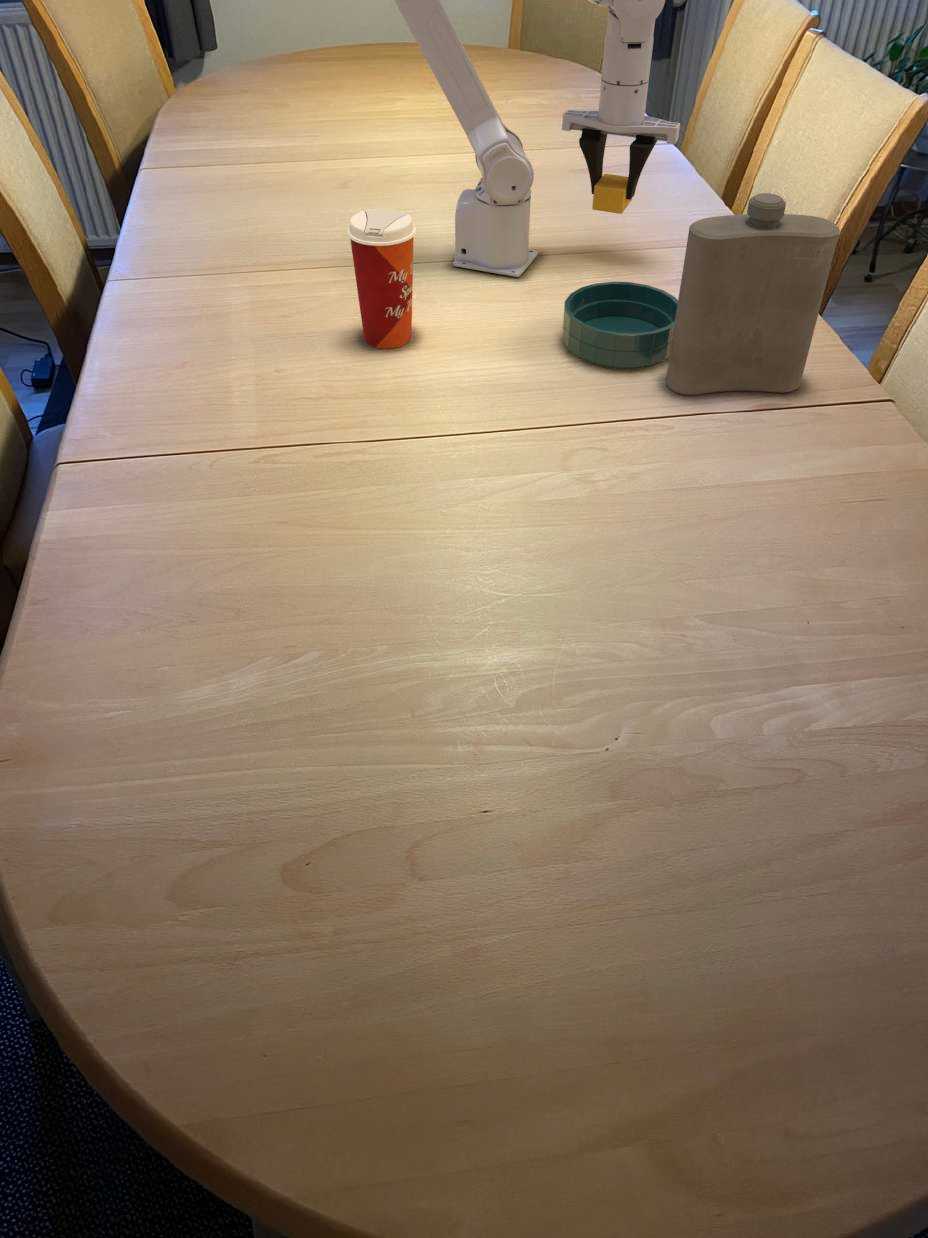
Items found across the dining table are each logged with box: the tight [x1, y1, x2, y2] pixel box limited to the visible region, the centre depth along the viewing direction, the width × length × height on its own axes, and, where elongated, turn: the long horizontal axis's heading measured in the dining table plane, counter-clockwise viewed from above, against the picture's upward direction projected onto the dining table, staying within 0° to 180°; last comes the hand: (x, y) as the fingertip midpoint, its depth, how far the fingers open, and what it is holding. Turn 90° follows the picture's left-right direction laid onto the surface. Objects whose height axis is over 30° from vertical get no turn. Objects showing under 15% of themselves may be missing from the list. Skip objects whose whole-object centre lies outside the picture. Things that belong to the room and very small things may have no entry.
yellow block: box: [591, 173, 633, 215], centre depth 129 cm, size 4×5×3 cm
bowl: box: [561, 281, 678, 371], centre depth 116 cm, size 14×14×4 cm
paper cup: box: [346, 207, 417, 349], centre depth 114 cm, size 8×8×14 cm
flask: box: [665, 192, 841, 396], centre depth 104 cm, size 15×6×20 cm, turn 93°
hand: (613, 194), depth 129 cm, fingers closed on yellow block, 4 cm apart
